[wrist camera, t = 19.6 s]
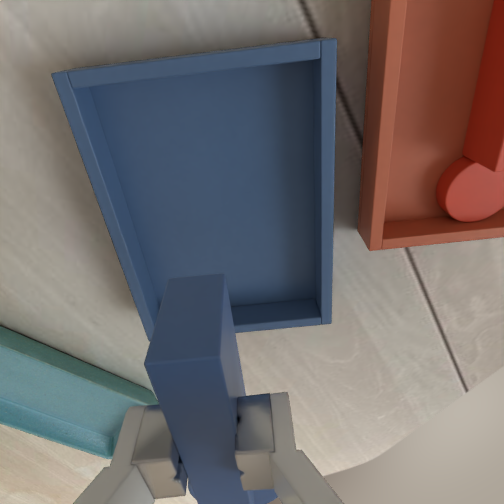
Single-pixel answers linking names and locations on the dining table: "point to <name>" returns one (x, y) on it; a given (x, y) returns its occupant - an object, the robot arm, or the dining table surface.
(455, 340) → the dining table surface
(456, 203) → the red bar with disc
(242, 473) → the robot arm
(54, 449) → the dining table surface
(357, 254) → the dining table surface
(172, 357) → the spoon blue
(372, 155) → the tray red
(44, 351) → the shallow long dish
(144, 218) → the tray blue
